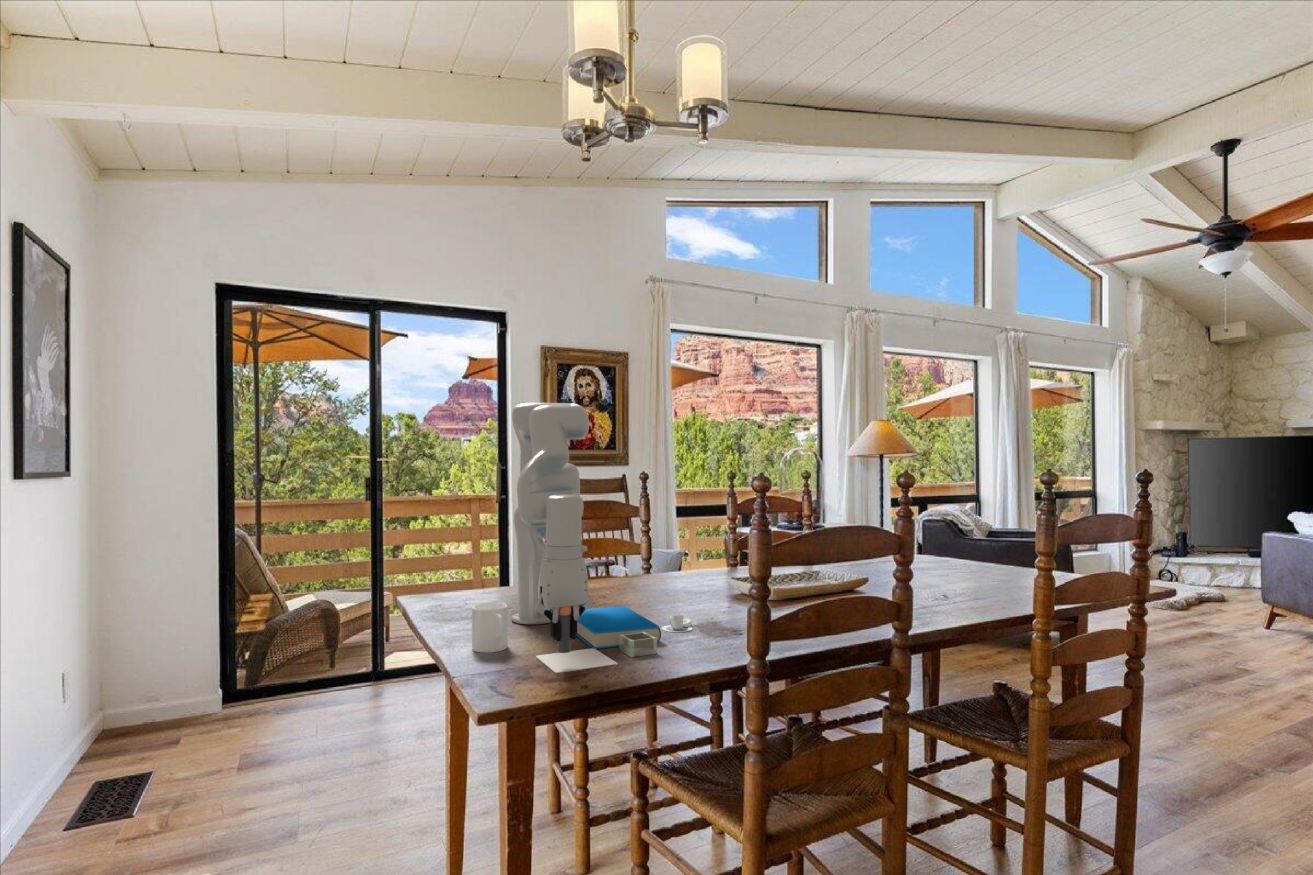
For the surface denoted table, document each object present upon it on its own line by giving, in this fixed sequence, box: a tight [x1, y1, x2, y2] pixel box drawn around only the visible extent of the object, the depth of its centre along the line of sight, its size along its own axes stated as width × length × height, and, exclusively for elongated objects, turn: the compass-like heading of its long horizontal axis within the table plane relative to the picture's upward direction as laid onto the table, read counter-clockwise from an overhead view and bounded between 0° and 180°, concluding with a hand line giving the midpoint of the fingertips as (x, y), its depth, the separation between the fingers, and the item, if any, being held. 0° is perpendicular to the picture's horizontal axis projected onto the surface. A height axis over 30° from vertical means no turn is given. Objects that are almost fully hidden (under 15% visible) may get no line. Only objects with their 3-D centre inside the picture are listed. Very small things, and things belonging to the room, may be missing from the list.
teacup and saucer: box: [661, 612, 693, 633], centre depth 198 cm, size 9×8×4 cm
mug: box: [471, 602, 509, 654], centre depth 179 cm, size 8×12×10 cm, turn 32°
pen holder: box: [618, 632, 658, 658], centre depth 176 cm, size 6×6×4 cm
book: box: [575, 605, 662, 650], centre depth 193 cm, size 17×4×25 cm
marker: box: [557, 607, 572, 653], centre depth 165 cm, size 3×3×10 cm
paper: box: [534, 647, 619, 674], centre depth 169 cm, size 14×14×1 cm
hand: (563, 638), depth 165 cm, fingers closed on marker, 2 cm apart
